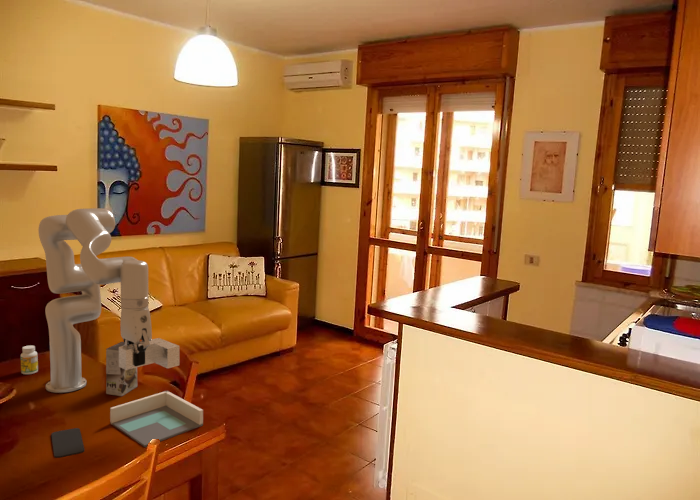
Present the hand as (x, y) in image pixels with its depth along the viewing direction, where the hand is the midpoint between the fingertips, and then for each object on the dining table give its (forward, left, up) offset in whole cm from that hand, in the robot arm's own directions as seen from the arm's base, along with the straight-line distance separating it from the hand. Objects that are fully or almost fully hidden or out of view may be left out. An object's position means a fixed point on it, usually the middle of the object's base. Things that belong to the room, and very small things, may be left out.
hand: (135, 362), depth 160 cm
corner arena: (+4, +5, -20) cm, 21 cm away
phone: (-3, -19, -20) cm, 28 cm away
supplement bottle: (-65, -6, -20) cm, 68 cm away
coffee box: (-27, +10, -20) cm, 35 cm away
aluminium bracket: (+3, +3, -1) cm, 4 cm away
